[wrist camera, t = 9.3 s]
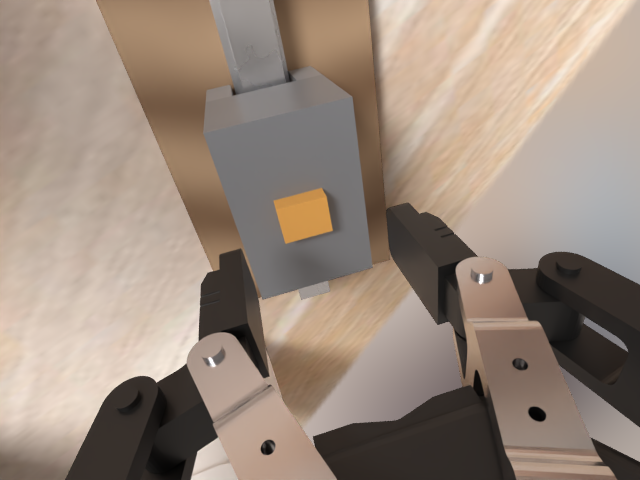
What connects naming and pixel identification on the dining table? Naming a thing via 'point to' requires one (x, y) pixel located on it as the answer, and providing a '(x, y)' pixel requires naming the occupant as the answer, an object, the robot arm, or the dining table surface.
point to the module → (291, 179)
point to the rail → (254, 58)
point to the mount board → (212, 72)
